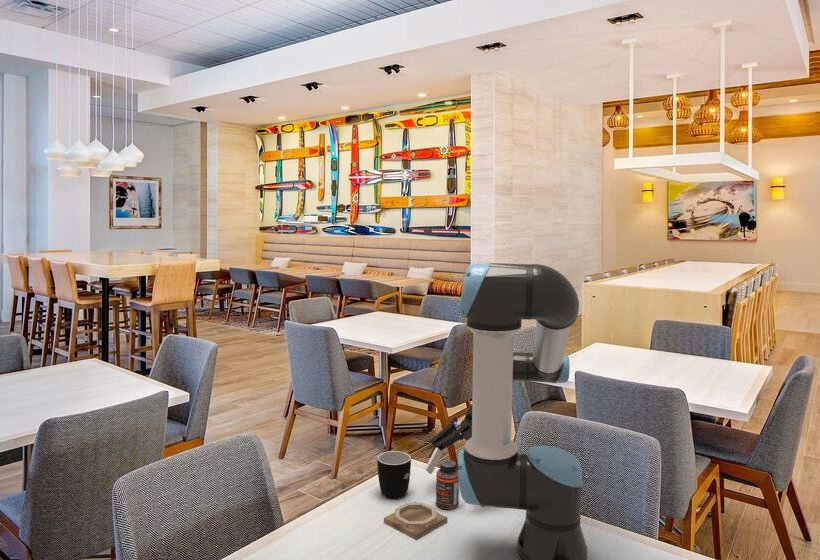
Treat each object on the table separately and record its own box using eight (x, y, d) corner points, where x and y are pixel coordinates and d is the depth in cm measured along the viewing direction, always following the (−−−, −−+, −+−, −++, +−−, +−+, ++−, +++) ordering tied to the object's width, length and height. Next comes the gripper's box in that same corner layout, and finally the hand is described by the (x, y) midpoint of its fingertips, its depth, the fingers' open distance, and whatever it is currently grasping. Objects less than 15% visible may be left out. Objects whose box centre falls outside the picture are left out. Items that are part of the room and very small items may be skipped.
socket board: (447, 521, 143) (447, 512, 143) (416, 539, 135) (416, 530, 135) (414, 506, 150) (414, 497, 150) (383, 522, 142) (383, 513, 142)
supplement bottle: (432, 507, 150) (432, 465, 148) (440, 497, 155) (440, 456, 154) (454, 512, 147) (455, 469, 146) (461, 501, 153) (462, 460, 152)
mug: (407, 503, 152) (407, 466, 151) (373, 499, 154) (373, 463, 153) (415, 482, 164) (415, 447, 163) (384, 479, 165) (384, 445, 164)
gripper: (527, 428, 154) (492, 502, 145) (454, 406, 171) (419, 471, 162) (516, 413, 150) (480, 489, 141) (442, 392, 167) (405, 458, 158)
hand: (447, 480), depth 151 cm, fingers open, 13 cm apart
